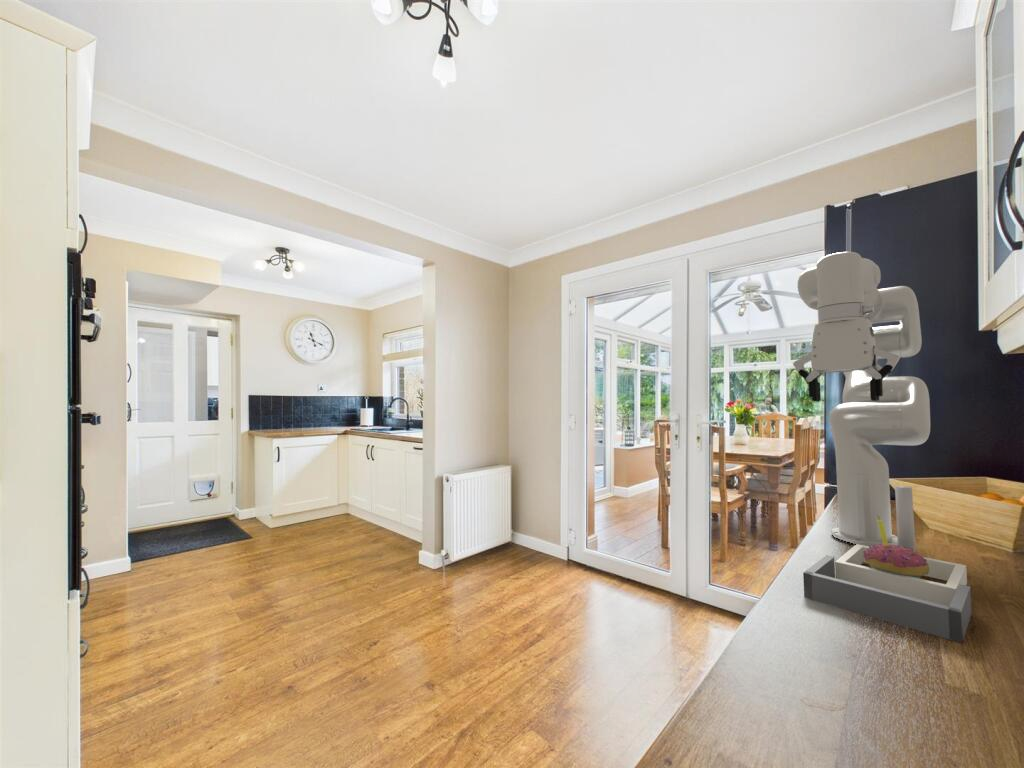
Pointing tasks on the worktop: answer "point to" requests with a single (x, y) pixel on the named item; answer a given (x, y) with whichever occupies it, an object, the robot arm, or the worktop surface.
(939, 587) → the collar
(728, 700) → the worktop surface
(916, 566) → the pink frosted cake
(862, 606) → the holder bay
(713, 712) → the worktop surface
